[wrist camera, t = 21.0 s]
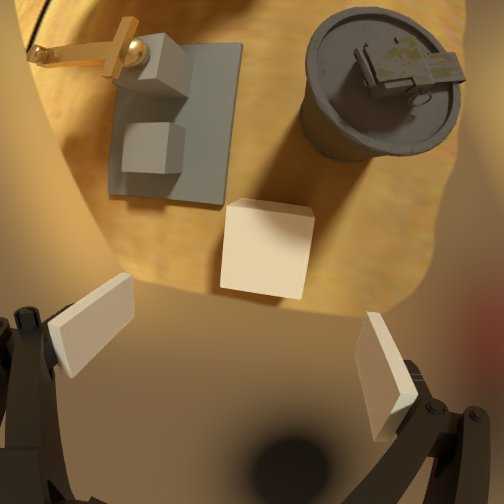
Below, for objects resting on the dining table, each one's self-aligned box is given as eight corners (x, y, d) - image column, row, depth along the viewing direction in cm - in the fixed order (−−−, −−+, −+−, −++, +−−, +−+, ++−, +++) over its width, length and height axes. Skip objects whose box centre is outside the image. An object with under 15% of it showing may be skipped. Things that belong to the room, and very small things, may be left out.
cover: (242, 197, 35) (226, 205, 27) (310, 207, 34) (315, 217, 26) (235, 262, 37) (219, 287, 29) (300, 272, 36) (301, 299, 28)
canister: (316, 172, 33) (346, 174, 14) (288, 88, 30) (278, -2, 11) (401, 151, 30) (506, 139, 11) (373, 70, 28) (442, -14, 9)
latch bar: (159, 30, 21) (140, 13, 17) (140, 85, 23) (116, 75, 19) (58, 38, 22) (36, 30, 18) (43, 84, 23) (19, 79, 20)
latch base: (128, 53, 31) (86, 30, 22) (243, 45, 29) (224, 7, 20) (111, 193, 37) (63, 202, 27) (224, 203, 35) (198, 216, 26)
